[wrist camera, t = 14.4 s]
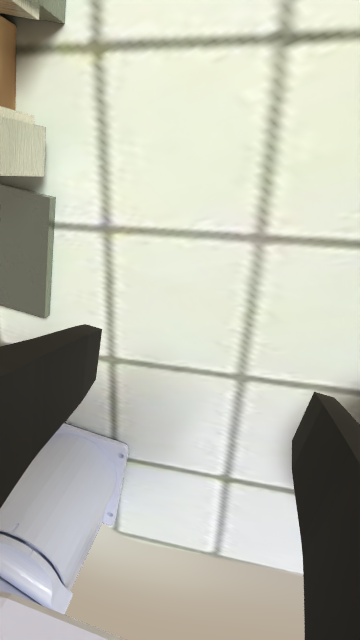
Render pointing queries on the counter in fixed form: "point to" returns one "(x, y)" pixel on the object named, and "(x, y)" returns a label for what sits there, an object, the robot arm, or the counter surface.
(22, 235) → the vise body
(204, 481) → the counter surface
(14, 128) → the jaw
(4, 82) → the block
